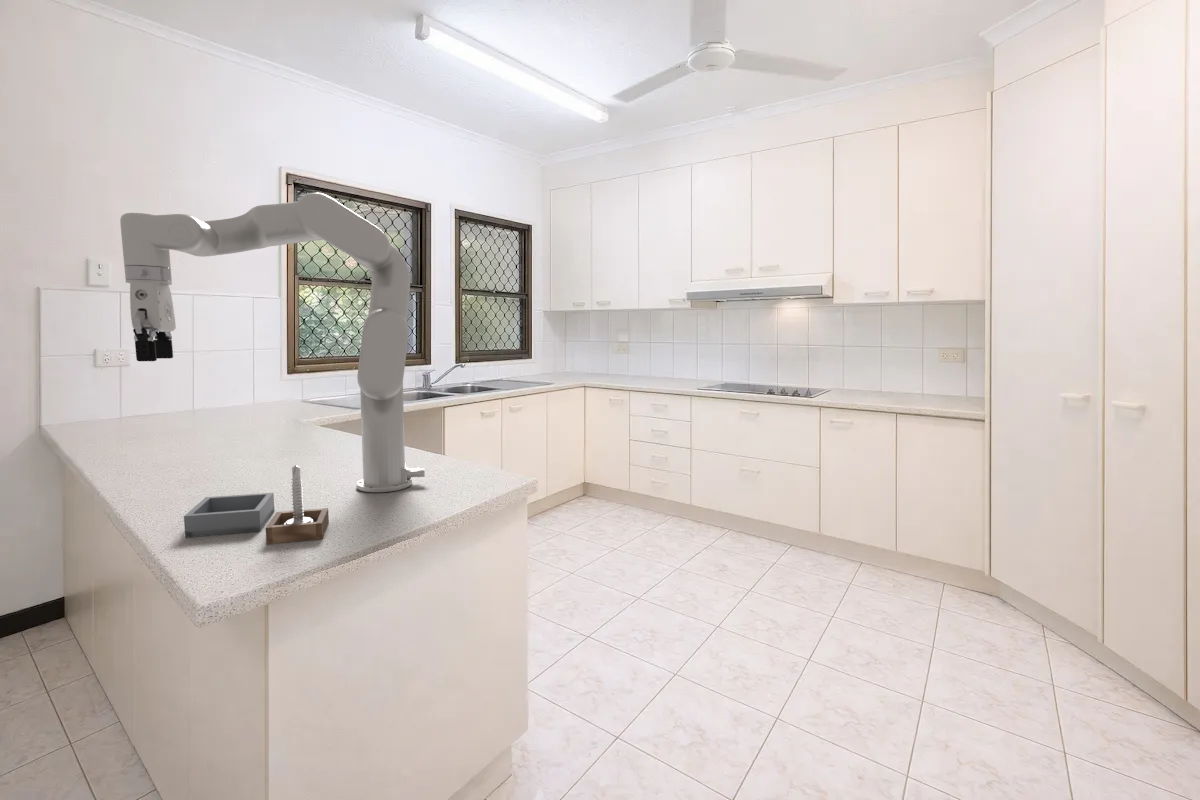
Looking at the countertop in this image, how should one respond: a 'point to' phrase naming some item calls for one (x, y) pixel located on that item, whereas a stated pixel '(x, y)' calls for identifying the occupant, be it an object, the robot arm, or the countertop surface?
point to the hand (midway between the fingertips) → (155, 359)
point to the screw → (297, 499)
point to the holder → (297, 527)
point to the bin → (229, 514)
